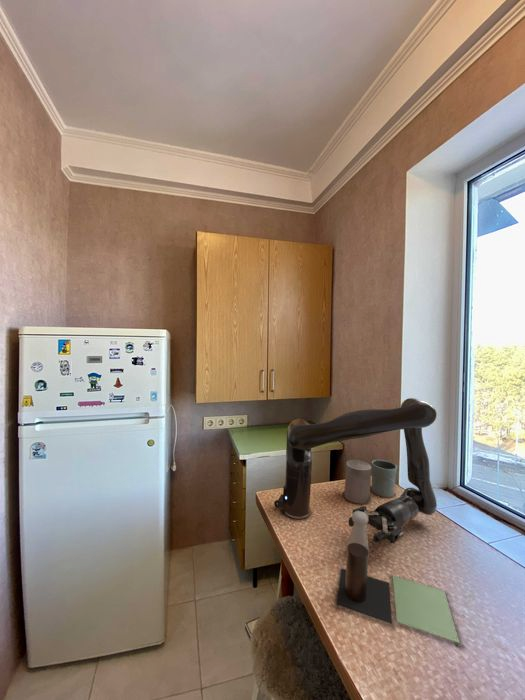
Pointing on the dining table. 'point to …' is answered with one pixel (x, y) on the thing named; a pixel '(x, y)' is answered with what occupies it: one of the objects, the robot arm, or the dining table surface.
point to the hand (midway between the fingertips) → (361, 531)
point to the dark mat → (368, 599)
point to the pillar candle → (357, 481)
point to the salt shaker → (359, 529)
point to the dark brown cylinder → (356, 572)
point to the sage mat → (423, 608)
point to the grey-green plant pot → (383, 477)
